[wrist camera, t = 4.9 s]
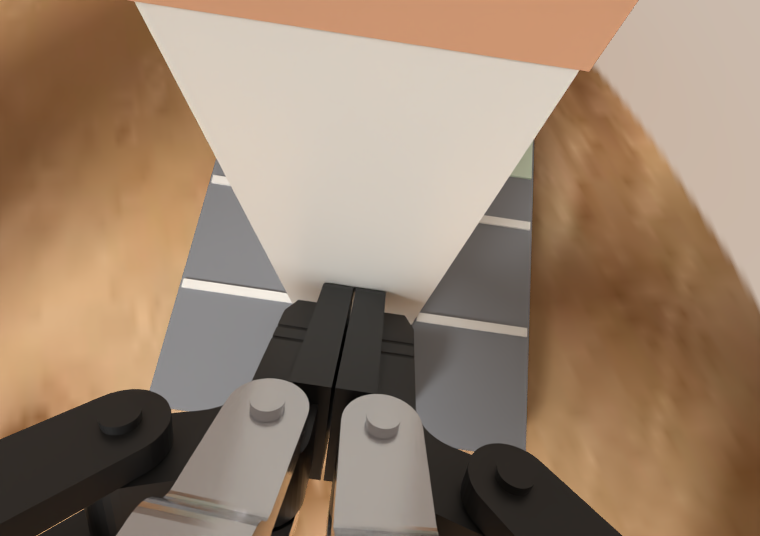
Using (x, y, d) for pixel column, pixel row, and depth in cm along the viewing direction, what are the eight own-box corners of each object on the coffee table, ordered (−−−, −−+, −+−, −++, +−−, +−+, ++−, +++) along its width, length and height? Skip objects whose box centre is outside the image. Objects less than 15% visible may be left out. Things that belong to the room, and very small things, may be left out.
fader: (298, 320, 15) (6, -212, 2) (317, 220, 16) (195, -496, 3) (406, 335, 15) (705, -99, 2) (418, 235, 16) (659, -415, 3)
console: (169, 406, 16) (112, 403, 12) (266, 50, 21) (247, -31, 17) (504, 453, 16) (552, 464, 12) (519, 89, 21) (556, 17, 17)
